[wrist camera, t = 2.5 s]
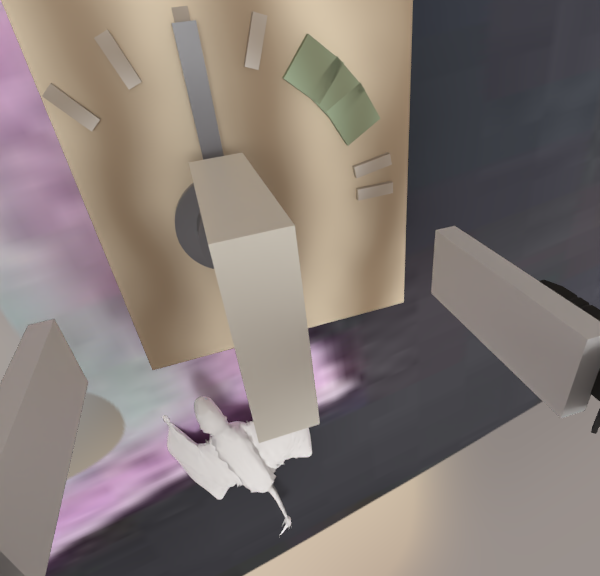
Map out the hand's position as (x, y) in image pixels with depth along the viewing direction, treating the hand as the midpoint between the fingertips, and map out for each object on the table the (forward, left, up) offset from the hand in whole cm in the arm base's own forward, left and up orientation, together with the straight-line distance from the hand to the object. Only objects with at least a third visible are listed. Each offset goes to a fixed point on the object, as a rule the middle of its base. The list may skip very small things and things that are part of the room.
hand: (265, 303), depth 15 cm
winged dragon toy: (-2, -20, -11) cm, 23 cm away
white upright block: (0, +2, -8) cm, 8 cm away
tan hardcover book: (+2, +3, -10) cm, 11 cm away
